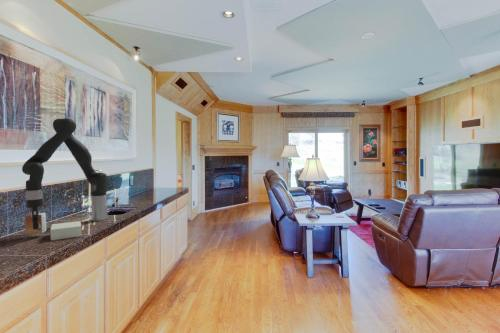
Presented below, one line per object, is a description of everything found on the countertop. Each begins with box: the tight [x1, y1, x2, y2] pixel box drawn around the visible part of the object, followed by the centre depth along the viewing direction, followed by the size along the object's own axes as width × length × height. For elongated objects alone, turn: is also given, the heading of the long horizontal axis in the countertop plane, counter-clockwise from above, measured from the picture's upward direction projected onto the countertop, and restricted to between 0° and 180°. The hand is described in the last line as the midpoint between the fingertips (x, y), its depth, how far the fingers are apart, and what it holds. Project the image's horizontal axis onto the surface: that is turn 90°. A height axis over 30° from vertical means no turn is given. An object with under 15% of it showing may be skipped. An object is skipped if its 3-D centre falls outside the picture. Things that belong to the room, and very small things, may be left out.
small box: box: [24, 212, 47, 235], centre depth 152 cm, size 8×6×10 cm
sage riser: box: [49, 220, 82, 241], centre depth 155 cm, size 14×14×6 cm
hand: (36, 227), depth 152 cm, fingers closed on small box, 7 cm apart
